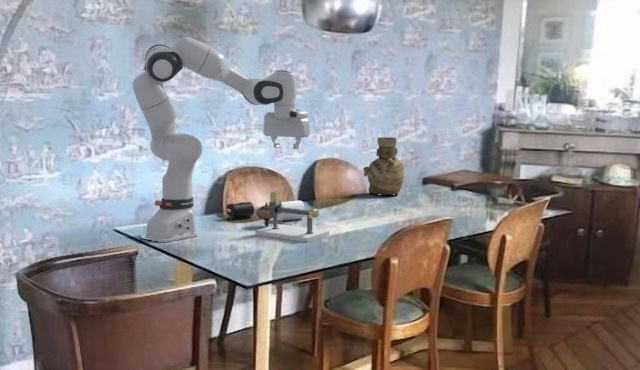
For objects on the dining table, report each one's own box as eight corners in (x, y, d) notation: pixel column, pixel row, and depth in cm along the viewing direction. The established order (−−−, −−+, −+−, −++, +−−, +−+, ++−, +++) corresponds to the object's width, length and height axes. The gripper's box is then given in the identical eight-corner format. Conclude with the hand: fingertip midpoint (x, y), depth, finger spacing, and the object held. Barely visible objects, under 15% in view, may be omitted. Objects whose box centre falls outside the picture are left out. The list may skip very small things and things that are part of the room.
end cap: (235, 221, 296) (234, 205, 295) (226, 218, 301) (225, 203, 300) (254, 218, 302) (254, 202, 301) (245, 215, 308) (245, 200, 307)
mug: (276, 219, 300) (276, 200, 299) (297, 217, 304) (297, 199, 303) (287, 224, 289) (287, 205, 288) (309, 222, 294) (309, 203, 293)
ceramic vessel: (363, 191, 377) (364, 135, 373) (402, 191, 375) (403, 136, 371) (362, 197, 358) (363, 138, 354) (404, 197, 357) (405, 139, 352)
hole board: (307, 242, 256) (307, 237, 256) (255, 234, 269) (255, 230, 268) (329, 234, 269) (329, 230, 268) (278, 227, 281) (278, 224, 281)
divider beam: (315, 234, 261) (315, 209, 260) (267, 228, 273) (267, 204, 272) (318, 233, 263) (318, 208, 262) (271, 227, 275) (270, 203, 274)
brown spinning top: (252, 226, 285) (252, 201, 284) (268, 223, 290) (268, 199, 289) (264, 229, 279) (263, 204, 277) (280, 226, 284) (280, 202, 283)
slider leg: (274, 228, 270) (274, 192, 268) (269, 227, 271) (268, 192, 269) (281, 226, 274) (281, 191, 272) (275, 225, 275) (275, 190, 273)
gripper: (259, 112, 273) (260, 147, 275) (302, 113, 262) (302, 150, 264) (269, 111, 278) (270, 146, 281) (311, 112, 267) (312, 148, 269)
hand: (286, 148), depth 272 cm, fingers open, 8 cm apart
